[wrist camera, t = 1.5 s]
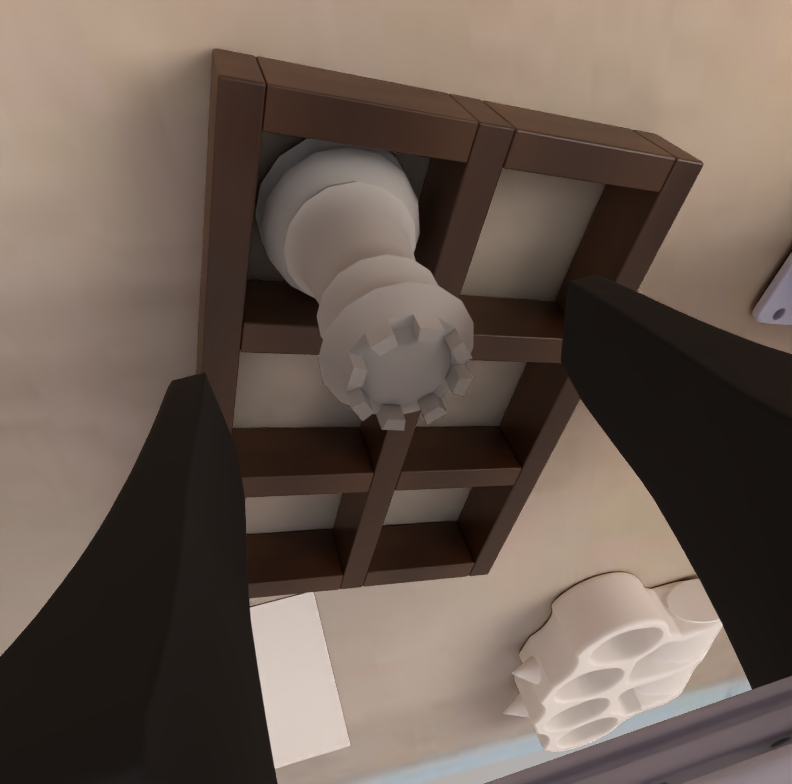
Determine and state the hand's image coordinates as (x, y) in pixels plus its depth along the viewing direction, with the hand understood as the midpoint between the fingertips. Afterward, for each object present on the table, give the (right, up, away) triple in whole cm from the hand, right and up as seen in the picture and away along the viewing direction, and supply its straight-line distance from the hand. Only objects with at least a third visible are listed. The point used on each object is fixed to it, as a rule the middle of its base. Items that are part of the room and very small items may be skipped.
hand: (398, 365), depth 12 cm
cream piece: (-13, -19, +23) cm, 33 cm away
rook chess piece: (-2, +5, +6) cm, 8 cm away
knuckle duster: (+14, -17, +31) cm, 38 cm away
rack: (0, 0, +10) cm, 10 cm away
